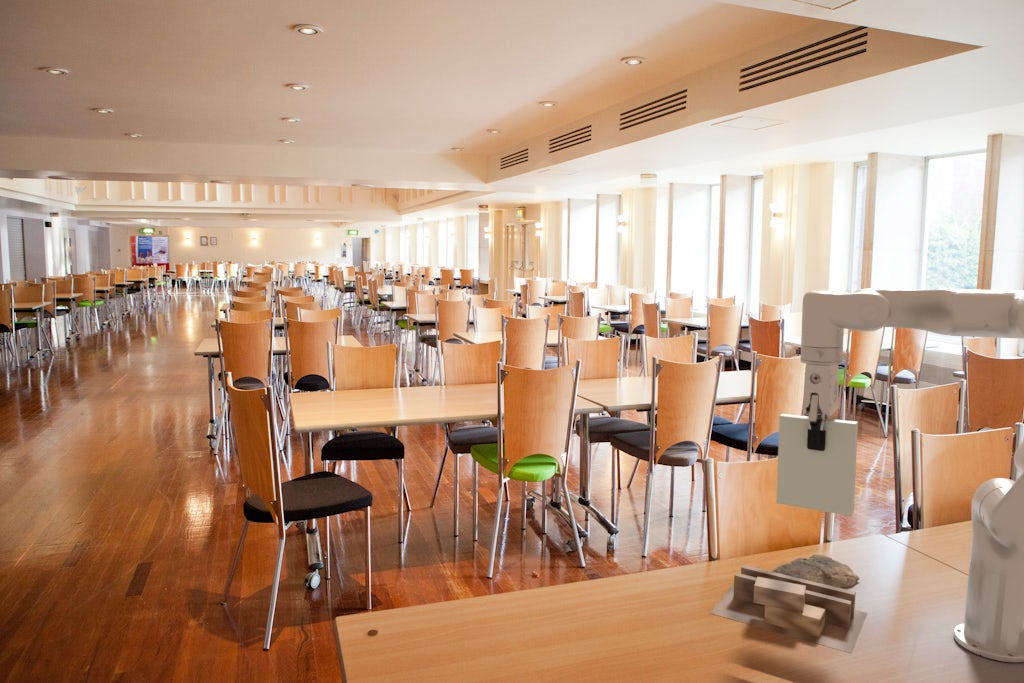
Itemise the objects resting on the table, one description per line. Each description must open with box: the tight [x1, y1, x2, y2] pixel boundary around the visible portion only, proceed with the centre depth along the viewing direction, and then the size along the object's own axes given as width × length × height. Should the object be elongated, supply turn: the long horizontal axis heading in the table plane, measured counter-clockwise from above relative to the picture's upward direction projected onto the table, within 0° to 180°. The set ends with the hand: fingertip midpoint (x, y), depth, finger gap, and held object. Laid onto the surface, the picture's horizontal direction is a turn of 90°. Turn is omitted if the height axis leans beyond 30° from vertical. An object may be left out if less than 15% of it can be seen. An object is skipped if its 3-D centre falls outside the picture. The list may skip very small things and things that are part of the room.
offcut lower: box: [764, 604, 826, 637], centre depth 144 cm, size 10×5×4 cm, turn 56°
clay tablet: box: [771, 554, 860, 589], centre depth 165 cm, size 14×5×20 cm
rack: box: [709, 564, 868, 654], centre depth 148 cm, size 26×18×6 cm
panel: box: [776, 413, 859, 517], centre depth 147 cm, size 14×2×18 cm, turn 57°
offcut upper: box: [753, 577, 806, 613], centre depth 145 cm, size 9×4×4 cm, turn 64°
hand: (817, 447), depth 147 cm, fingers closed on panel, 2 cm apart
